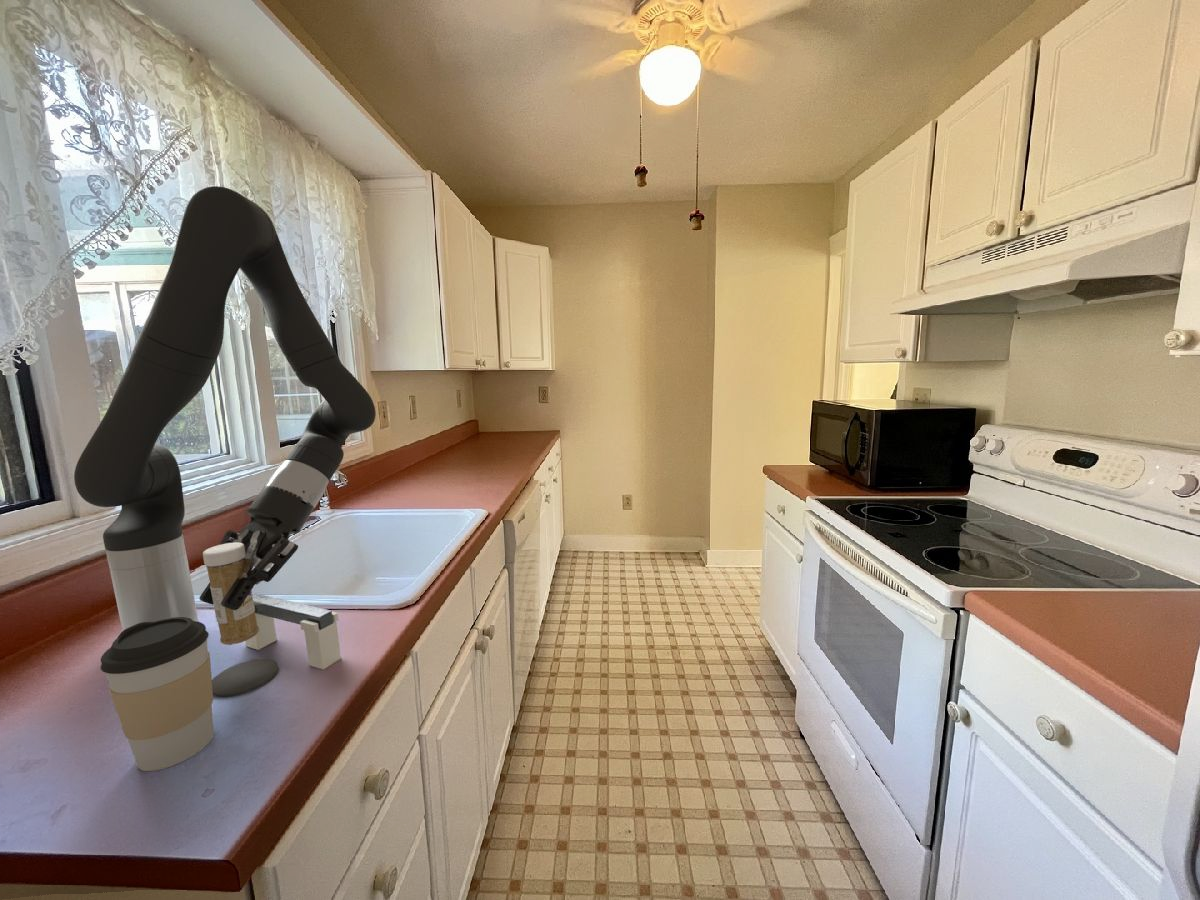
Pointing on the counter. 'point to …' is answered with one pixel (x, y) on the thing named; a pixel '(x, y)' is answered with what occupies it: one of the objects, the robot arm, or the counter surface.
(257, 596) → the crossbar
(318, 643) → the hurdle posts
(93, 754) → the counter surface
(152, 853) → the counter surface
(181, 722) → the coffee cup
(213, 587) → the sprinkles bottle
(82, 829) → the counter surface
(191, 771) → the counter surface
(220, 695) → the rubber mat
